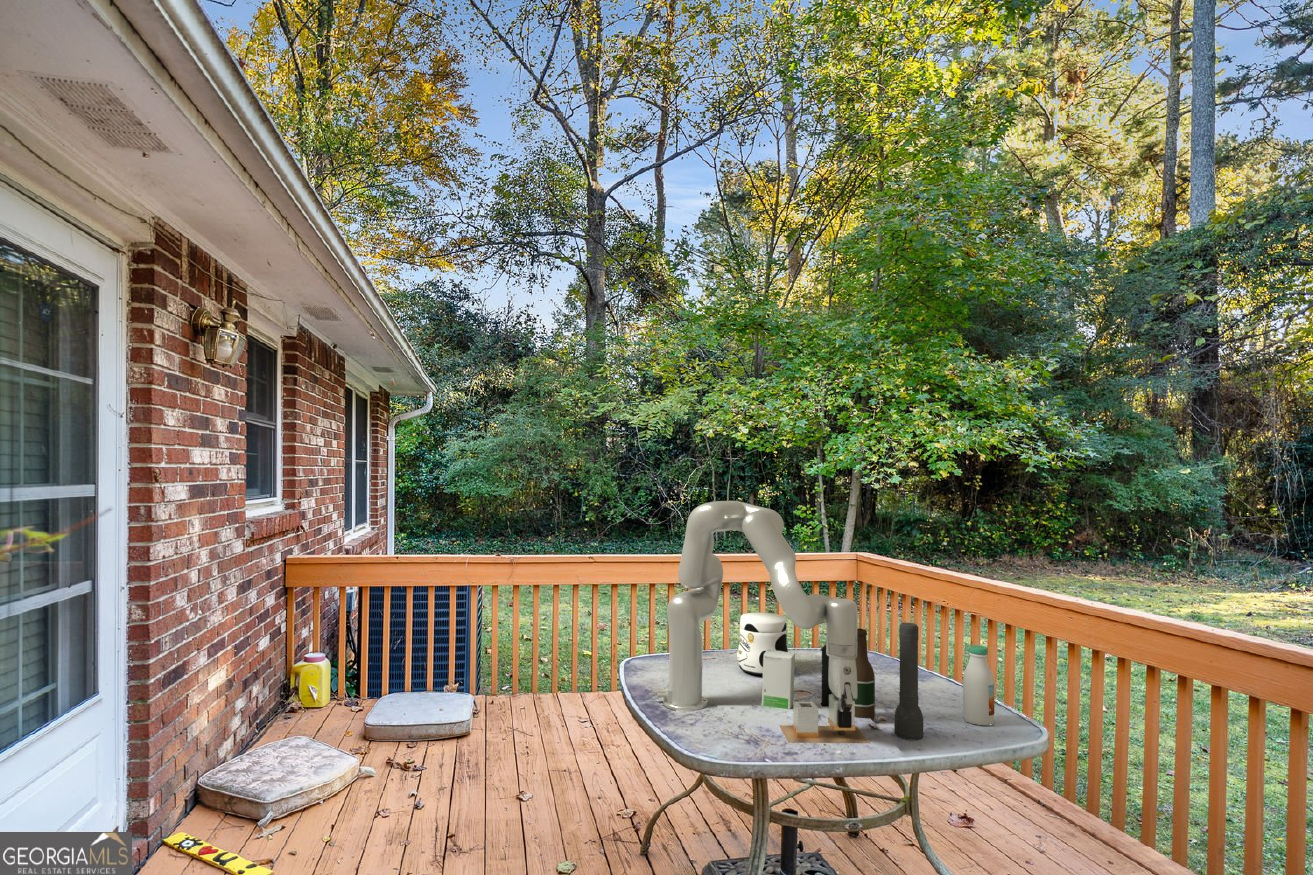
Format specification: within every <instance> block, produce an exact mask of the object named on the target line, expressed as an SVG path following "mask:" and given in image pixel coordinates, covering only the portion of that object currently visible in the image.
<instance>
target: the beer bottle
mask: <svg viewBox="0 0 1313 875" xmlns="http://www.w3.org/2000/svg"><path fill="white" fill-rule="evenodd" d="M867 635H868V631H867V629H865V628H857V658H855V661H856V669H857V689H858V698H857V699H856V700H854V699H853V698H852V699H853V700H854V701H855V719H856V718H857V719H870V720H871V721H872V722H875V719H876V718H875V716H876V708H875V707H876V677H875V671H874V668H873V666H872V664H871V662H870V661H869V656H868V645H867V644H868V642H867V641H868V640H867V639H868V638H867Z"/></svg>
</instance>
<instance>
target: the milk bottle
mask: <svg viewBox="0 0 1313 875" xmlns="http://www.w3.org/2000/svg"><path fill="white" fill-rule="evenodd" d="M968 652H969V653H968V654H969V660H968V663H967V665H966V666H965V669H964V672H963V678H962V679H963V680H962V681H963V682H962V717H963V720H964V721H966V722H967V723H969V724H971V725H974V724H977V725H976V726H980V725H990V724H993V725H994V724H995V715H996V714H995V711H996V710H995V679H994V673H993V672H992V670H991V668H990V664H989V663H988V658H987V657H989V655H988V652H989V651H988V647H987V646H984V645H976V644H972V645H969V647H968Z"/></svg>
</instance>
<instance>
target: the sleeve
mask: <svg viewBox="0 0 1313 875" xmlns="http://www.w3.org/2000/svg"><path fill="white" fill-rule="evenodd" d="M842 698H846V697H845V696H842ZM852 700H853V699H852ZM844 703H845V701H842V704H844ZM838 711H840V709H839V699H838V698H837V697H836V696H835V695H830V694H829V707H828V717H827V723H828V724H829V726H831V727H832V728H833V730H850V731H855V726H856V725H855V721H856V720H855V719H856V717H855V701H854V700H853V704H852V727H851V728H839V727H838Z"/></svg>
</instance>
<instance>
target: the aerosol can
mask: <svg viewBox="0 0 1313 875" xmlns="http://www.w3.org/2000/svg"><path fill="white" fill-rule="evenodd" d="M820 652H821V696H820V697H821V702H820V706H821V707H822V708H823V707H825V708H826V707H827V708H829V694H830V695H832V692H831V690H830V688H829V682H828V671H829V656H828V655H826V644H824V645H823V646H822V647H821V648H820Z"/></svg>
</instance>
